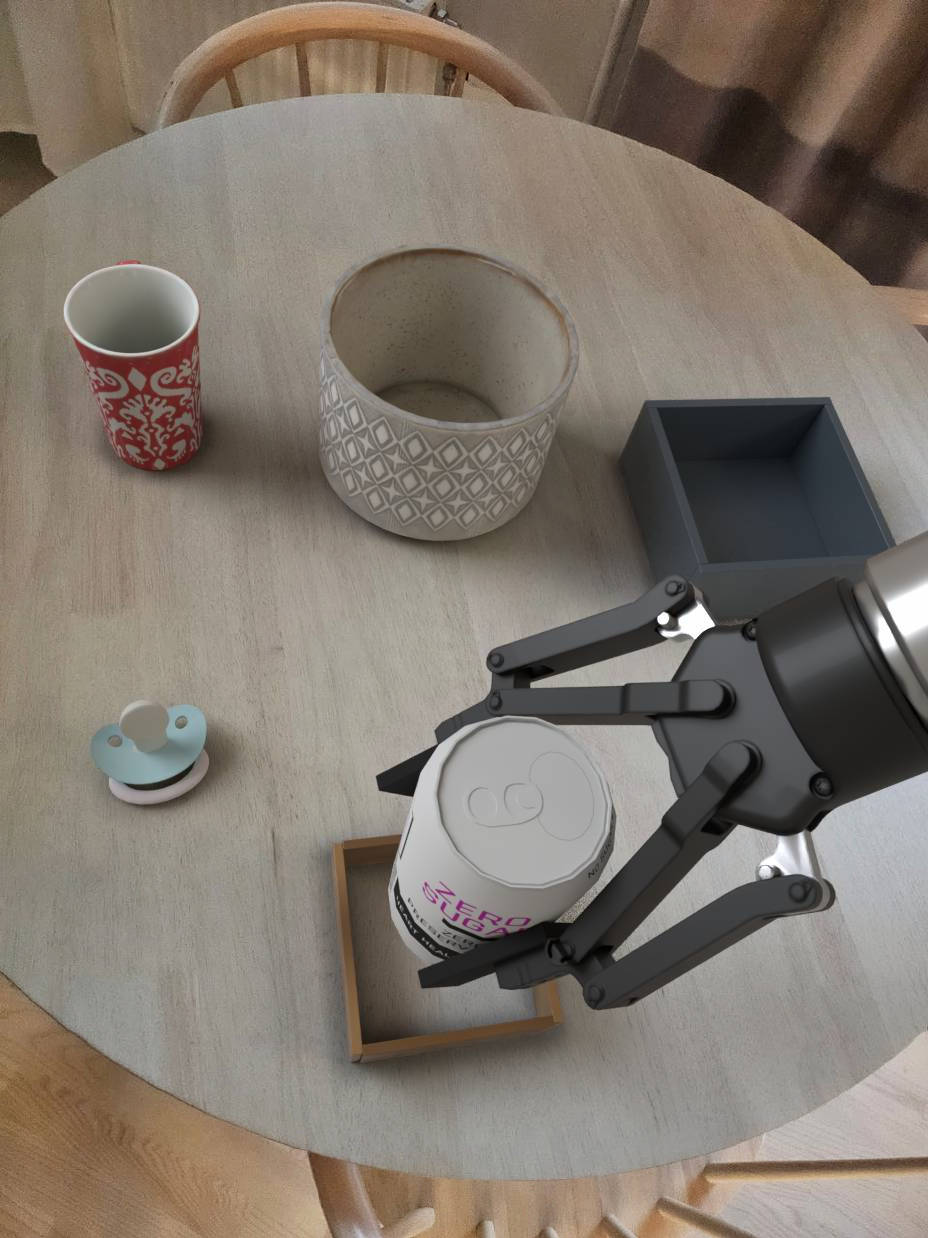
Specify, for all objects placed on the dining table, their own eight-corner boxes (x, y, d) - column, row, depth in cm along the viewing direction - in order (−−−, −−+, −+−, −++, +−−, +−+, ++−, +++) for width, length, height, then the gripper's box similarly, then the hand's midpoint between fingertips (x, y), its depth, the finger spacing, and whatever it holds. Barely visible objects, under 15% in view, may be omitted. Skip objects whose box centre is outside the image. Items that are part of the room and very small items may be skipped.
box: (549, 1033, 58) (564, 1024, 55) (349, 1065, 56) (352, 1058, 52) (513, 838, 64) (524, 820, 61) (330, 859, 62) (332, 841, 58)
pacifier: (223, 787, 63) (200, 708, 66) (216, 754, 58) (192, 669, 60) (110, 821, 61) (91, 738, 63) (92, 791, 56) (72, 701, 58)
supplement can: (525, 811, 52) (598, 692, 39) (557, 967, 48) (650, 890, 35) (378, 830, 50) (404, 711, 38) (399, 992, 46) (437, 921, 34)
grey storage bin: (854, 611, 78) (904, 561, 72) (667, 625, 75) (701, 573, 68) (790, 454, 86) (829, 396, 80) (618, 460, 83) (645, 399, 76)
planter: (360, 576, 73) (371, 455, 61) (289, 399, 81) (286, 260, 68) (573, 521, 79) (623, 401, 66) (487, 361, 87) (518, 227, 74)
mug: (220, 476, 76) (205, 351, 64) (100, 485, 74) (63, 357, 62) (207, 361, 82) (191, 227, 70) (96, 366, 80) (61, 229, 68)
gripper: (1071, 962, 32) (521, 1118, 41) (811, 470, 41) (415, 690, 51) (1050, 968, 26) (415, 1148, 35) (753, 394, 35) (319, 658, 45)
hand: (416, 878), depth 43 cm, fingers closed on supplement can, 8 cm apart
